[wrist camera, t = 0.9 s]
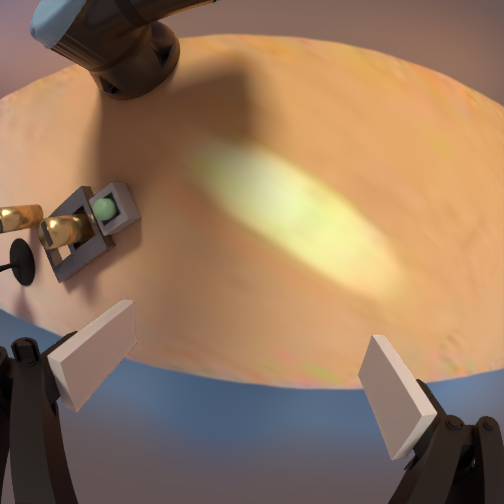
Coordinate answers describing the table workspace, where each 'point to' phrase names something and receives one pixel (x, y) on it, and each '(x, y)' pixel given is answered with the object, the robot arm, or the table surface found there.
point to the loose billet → (20, 217)
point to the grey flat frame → (79, 251)
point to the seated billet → (64, 230)
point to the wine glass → (21, 262)
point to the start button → (105, 209)
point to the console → (125, 208)
